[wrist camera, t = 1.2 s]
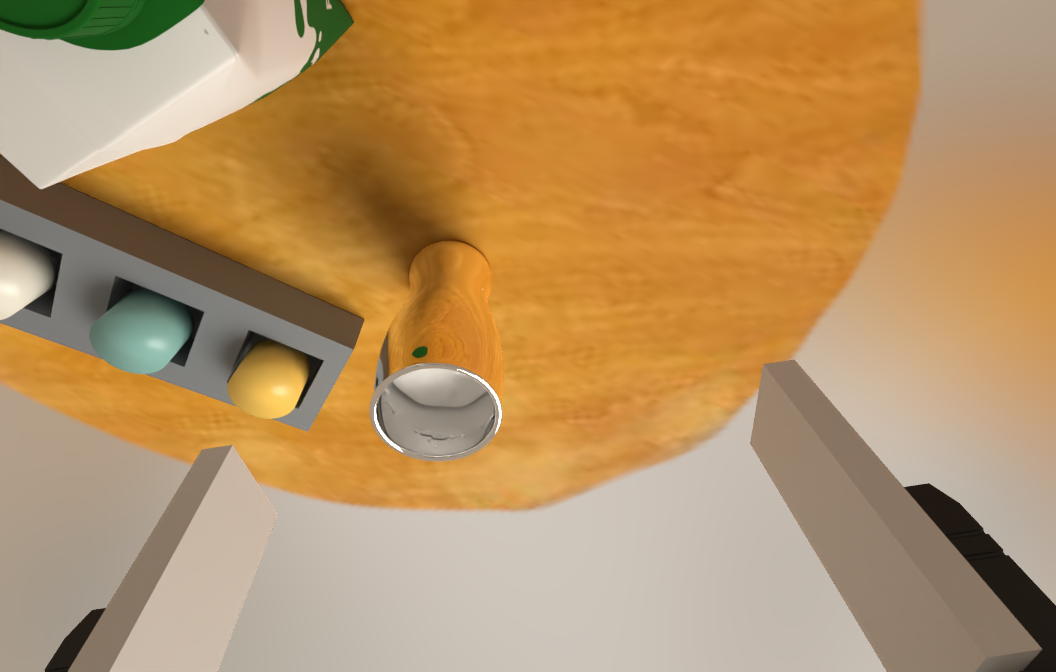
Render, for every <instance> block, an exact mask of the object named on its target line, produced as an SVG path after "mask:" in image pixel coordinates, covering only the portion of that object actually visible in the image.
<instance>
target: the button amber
mask: <svg viewBox="0 0 1056 672" xmlns="http://www.w3.org/2000/svg"><path fill="white" fill-rule="evenodd" d="M309 375H310V363H309V360H308V358H307V357H306V355H305V354H304V353H303V352H302V351H299V350H297V349H294V348H292V347H290V346H287V345H285V344H282V343H280V342H277V341H275V340H265V341H261V342H258V343H256V344H255V345H253V346H252V347H251V348H250V349H249V351H248V352H247V354H246V355H245V357H244V358H243V360H242V361H241V363H240V364H239V366H238V368H237V369H236V371H235V372H234V374H233V375H232V377H231V378H230V380H229V382H228V386H227V391H228V395H229V397H230V399H231V401H232V402H233V403H234V404H235V405H236V406H237V407H238V408H239V409H240V410H242V411H244V412H245V413H247V414H249V415H252V416H255V417H259V418H266V419H273V418H279V417H283V416H285V415H287V414H289V413H290V412H291V411H292V410H293V409H294V408H295V406H296V404H297V402H298V399H299V397H300V395H301V393H302V390H303V388H304V386H305V384H306V381H307V379H308V377H309Z"/></svg>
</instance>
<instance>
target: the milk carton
mask: <svg viewBox="0 0 1056 672" xmlns="http://www.w3.org/2000/svg"><path fill="white" fill-rule="evenodd" d="M353 23H354V22H353V20H352V18H351V17H350V15H349V13H348V12H347V10H346V8H345V7H344V5H343V3H342V2H341V0H0V153H1V154H2V155H3V156H4V157H5V158H6V159H7V160H8V161H9V162H10V163H11V164H13V165H14V166H15V167H16V168H17V169H18V170H19V171H20V172H21V173H22V174H24V175H25V176H26V177H27V178H28V179H29V180H30V181H31V182H32V183H33V184H35V185H36V186H37V187H38V188H39V189H43V188H46V187H49V186H51V185H53V184H56V183H58V182H61V181H63V180H66V179H68V178H70V177H73V176H75V175H78V174H80V173H83V172H85V171H88V170H91V169H93V168H96V167H98V166H101V165H104V164H106V163H109V162H112V161H114V160H117V159H120V158H122V157H125V156H127V155H130V154H133V153H135V152H138V151H141V150H143V149H149V148H154V147H159V146H163V145H166V144H170V143H172V142H175V141H177V140H178V139H180V138H181V137H183V136H185V135H186V134H188V133H190V132H192V131H195V130H197V129H199V128H202V127H204V126H206V125H208V124H210V123H212V122H214V121H216V120H219V119H221V118H223V117H225V116H227V115H229V114H231V113H233V112H235V111H237V110H239V109H241V108H243V107H246V106H248V105H250V104H252V103H254V102H256V101H258V100H260V99H262V98H264V97H266V96H267V95H269V94H271V93H272V92H274V91H275V90H277V89H278V88H280V87H281V86H283V85H284V84H286V83H287V82H289V81H290V80H292V79H293V78H295V77H297V76H298V75H299V74H301V73H302V72H303V71H305V70H306V69H307V68H309V67H310V66H311V65H313V64H314V63H315V62H317V61H318V60H319V59H320V58H321V56H322V55H323V54H324V53H325V52H326V51H327V50H328V49H329V48H330V47H331V46H332V45H333V44H334V43H335V42H336V41H337V40H338V39H339V38H340V37H341V36H342V35H343V34H344V32H345V31H346V30H347V29H348V28H349V27H350V26H351V25H352V24H353Z"/></svg>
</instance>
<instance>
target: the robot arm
mask: <svg viewBox="0 0 1056 672" xmlns="http://www.w3.org/2000/svg"><path fill="white" fill-rule="evenodd" d="M750 444H751V446H752V447H753V449H754V450H755V452H756V454H757V456H758V457H759V459H760V461H761V462H762V464H763V465H764V467H765V469H766V471H767V472H768V474H769V476H770V477H771V479H772V481H773V482H774V484H775V486H776V487H777V489H778V490H779V492H780V494H781V496H782V497H783V499H784V500H785V502H786V504H787V506H788V507H789V509H790V511H791V512H792V514H793V516H794V517H795V519H796V521H797V522H798V524H799V526H800V527H801V529H802V531H803V532H804V534H805V536H806V537H807V539H808V541H809V542H810V544H811V546H812V547H813V549H814V550H815V552H816V554H817V556H818V557H819V559H820V560H821V562H822V564H823V566H824V567H825V569H826V571H827V572H828V574H829V575H830V577H831V579H832V581H833V582H834V584H835V586H836V587H837V589H838V590H839V592H840V594H841V596H842V597H843V599H844V601H845V602H846V604H847V606H848V607H849V609H850V611H851V612H852V614H853V616H854V617H855V619H856V621H857V622H858V624H859V626H860V627H861V629H862V631H863V632H864V634H865V636H866V637H867V639H868V641H869V642H870V644H871V646H872V647H873V649H874V651H875V652H876V654H877V656H878V657H879V659H880V661H881V662H882V664H883V666H884V667H885V669H886V671H887V672H1056V605H1055V604H1054V603H1053V602H1052V601H1051V600H1050V599H1049V598H1048V597H1047V596H1046V595H1045V594H1044V593H1043V592H1042V591H1041V590H1040V588H1039V587H1038V586H1037V585H1036V584H1035V583H1034V582H1033V581H1032V580H1031V579H1030V578H1029V577H1028V576H1027V575H1026V574H1025V573H1024V572H1023V570H1022V569H1021V568H1020V567H1019V566H1018V565H1017V564H1016V563H1015V562H1014V561H1013V560H1012V559H1011V558H1010V557H1009V556H1008V555H1007V556H1006V555H1005V554H1004V553H1003V549H1002V548H1001V547H1000V546H999V545H998V544H997V543H996V542H995V541H994V540H993V538H992V537H991V536H990V535H989V534H985V533H984V531H983V528H982V527H981V526H980V525H979V523H978V522H977V521H976V520H975V519H974V518H973V517H972V516H971V515H970V514H969V513H968V512H967V511H966V510H965V509H964V508H963V506H962V505H961V504H960V503H958V502H957V501H955V500H954V499H952V498H951V497H949V496H947V495H946V494H944V493H943V492H941V491H940V490H938V489H937V488H935V487H934V486H932V485H931V484H929V483H928V484H922V485H915V486H908V487H903V486H902V485H901V483H900V482H899V481H898V480H897V479H896V478H895V476H894V475H893V474H892V473H891V472H890V471H889V470H888V468H887V467H886V466H885V465H884V464H883V463H882V461H881V460H880V459H879V458H878V457H877V456H876V455H875V453H874V452H873V451H872V450H871V448H870V447H869V446H868V445H867V444H866V443H865V442H864V440H863V439H862V438H861V437H860V436H859V435H858V433H857V432H856V431H855V430H854V429H853V427H852V426H851V425H850V424H849V423H848V422H847V420H846V419H845V418H844V417H843V416H842V415H841V413H840V412H839V411H838V410H837V409H836V408H835V407H834V405H833V404H832V403H831V402H830V401H829V400H828V398H827V397H826V396H825V395H824V394H823V392H822V391H821V390H820V389H819V388H818V387H817V385H816V384H815V383H814V382H813V381H812V380H811V379H810V377H809V376H808V375H807V374H806V373H805V371H803V369H802V368H801V367H800V366H799V365H798V363H797V362H796V361H795V360H789V361H782V362H776V363H769V364H763V369H762V375H761V381H760V387H759V393H758V400H757V406H756V412H755V418H754V424H753V430H752V436H751V443H750ZM277 516H278V514H277V513H276V511H275V510H274V508H273V507H272V505H271V504H270V502H269V500H268V499H267V497H266V496H265V494H264V493H263V491H262V490H261V488H260V486H259V485H258V483H257V482H256V480H255V479H254V477H253V476H252V474H251V473H250V471H249V469H248V468H247V466H246V465H245V463H244V462H243V460H242V459H241V457H240V456H239V454H238V453H237V451H236V449H235V448H234V446H233V445H230V446H223V447H217V448H210V449H204V450H202V451H201V452H200V454H199V456H198V457H197V459H196V460H195V462H194V464H193V465H192V467H191V469H190V471H189V472H188V474H187V475H186V477H185V479H184V480H183V482H182V484H181V485H180V487H179V489H178V490H177V492H176V494H175V495H174V497H173V499H172V500H171V502H170V503H169V505H168V507H167V508H166V510H165V512H164V513H163V515H162V517H161V518H160V520H159V522H158V523H157V525H156V527H155V528H154V530H153V532H152V533H151V535H150V536H149V538H148V540H147V542H146V543H145V545H144V546H143V548H142V550H141V551H140V553H139V555H138V556H137V558H136V560H135V561H134V563H133V565H132V566H131V568H130V570H129V571H128V573H127V574H126V576H125V578H124V579H123V581H122V583H121V585H120V586H119V588H118V589H117V591H116V593H115V594H114V596H113V598H112V599H111V601H110V603H109V604H108V606H107V607H106V608H103V609H96V610H92V611H91V612H90V613H89V614H88V615H87V616H86V617H85V618H84V619H83V620H82V621H81V622H80V623H79V624H78V625H77V626H76V627H75V629H73V630H72V632H71V633H70V634H69V635H68V636H67V637H66V638H65V639H64V640H63V642H62V644H61V645H60V647H59V648H58V650H57V652H56V653H55V654H54V656H53V658H52V659H51V661H50V662H49V664H48V665H47V667H46V669H45V672H218V669H219V667H220V664H221V662H222V659H223V656H224V654H225V651H226V649H227V646H228V644H229V641H230V638H231V636H232V633H233V630H234V628H235V625H236V623H237V620H238V618H239V615H240V612H241V610H242V607H243V604H244V602H245V599H246V597H247V594H248V591H249V589H250V586H251V583H252V581H253V578H254V576H255V573H256V571H257V568H258V566H259V563H260V560H261V558H262V555H263V552H264V550H265V547H266V545H267V542H268V540H269V537H270V534H271V532H272V529H273V527H274V524H275V521H276V519H277Z"/></svg>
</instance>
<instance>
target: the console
mask: <svg viewBox="0 0 1056 672" xmlns="http://www.w3.org/2000/svg"><path fill="white" fill-rule="evenodd" d="M0 229H3V230H5V231H7V232H10V233H12V234H15V235H17V236H20V237H22V238H25V239H27V240H30V241H32V242H34V243H37V244H39V245H41V246H42V247H43V248H44V249H45V250H46V251H47V252H48V253H49V254H50V256H51V257H52V259H53V260H54V262H55V264H56V267H57V270H58V279H57V282H56V284H55V285H54V286H53V287H52V288H51V289H50V290H48V291H47V292H45V293H44V294H42V295H41V296H39V297H38V298H37V299H35V300H34V301H32V302H31V303H29V304H28V305H26V306H25V307H23V308H22V309H21V310H19V311H18V312H16V313H15V314H13V315H12V316H10V317H8V318H6V319H3V320H0V323H2V324H5V325H7V326H10V327H13V328H16V329H19V330H22V331H24V332H27V333H30V334H33V335H36V336H39V337H41V338H44V339H47V340H50V341H53V342H56V343H58V344H61V345H64V346H67V347H70V348H73V349H75V350H78V351H81V352H84V353H87V354H90V355H92V356H95V357H98V358H101V357H100V356H99V355H98V354H97V352H96V351H95V350H94V348H93V346H92V344H91V342H90V338H89V332H90V329H91V326H92V325H93V324H94V323H95V322H96V321H97V320H98V319H99V318H100V317H101V316H103V315H104V314H105V313H106V312H107V311H108V310H110V309H111V308H112V307H113V306H114V305H116V304H117V303H118V302H119V301H120V300H121V299H123V298H124V297H125V296H126V295H127V294H129V293H130V292H132V291H135V290H138V289H150V290H152V291H155V292H157V293H160V294H162V295H164V296H167V297H169V298H172V299H174V300H177V301H179V302H182V303H183V304H184V305H185V306H186V307H187V309H188V310H189V311H190V313H191V315H192V317H193V320H194V331H193V333H192V335H191V336H190V338H189V339H188V340H187V341H186V342H185V343H184V345H183V346H182V347H181V348H180V349H179V351H178V352H177V353H176V354H175V355H174V356H173V358H172V359H171V360H170V361H169V362H168V364H167V365H166V366H165V367H164V368H162V369H161V370H159V371H157V372H154V373H149V374H146V375H149V376H152V377H155V378H158V379H160V380H163V381H166V382H169V383H172V384H175V385H177V386H180V387H183V388H186V389H189V390H191V391H194V392H197V393H200V394H203V395H206V396H208V397H211V398H214V399H217V400H220V401H223V402H225V403H228V404H231V405H234V406H236V405H235V404H234V403H233V402H232V401H231V399H230V397H229V395H228V391H227V386H228V382H229V380H230V378H231V377H232V375H233V374H234V372H235V371H236V369H237V368H238V366H239V364H240V363H241V361H242V360H243V358H244V357H245V355H246V354H247V352H248V351H249V349H250V348H251V347H252V346H253V345H255V344H256V343H258V342H261V341H265V340H275V341H277V342H280V343H282V344H285V345H287V346H290V347H292V348H294V349H297V350H299V351H302V352H303V353H304V354H305V355H306V357H307V358H308V360H309V363H310V375H309V377H308V379H307V381H306V384H305V386H304V388H303V390H302V393H301V395H300V397H299V399H298V402H297V404H296V406H295V408H294V409H293V410H292V411H291V412H290V413H289V414H287V415H285V416H283V417H279V418H273V419H274V420H276V421H279V422H282V423H285V424H288V425H291V426H293V427H296V428H299V429H302V430H305V431H309V429H310V427H311V425H312V424H313V422H314V420H315V418H316V416H317V415H318V413H319V411H320V409H321V407H322V406H323V404H324V402H325V400H326V398H327V397H328V395H329V393H330V391H331V390H332V388H333V386H334V384H335V382H336V381H337V379H338V377H339V375H340V373H341V372H342V370H343V368H344V366H345V364H346V363H347V361H348V359H349V357H350V355H351V354H352V352H353V350H354V347H355V345H356V342H357V339H358V336H359V333H360V330H361V328H362V325H363V322H364V319H362V318H360V317H357V316H355V315H353V314H351V313H349V312H346V311H344V310H342V309H340V308H337V307H335V306H333V305H331V304H328V303H326V302H324V301H322V300H320V299H317V298H315V297H313V296H311V295H308V294H306V293H304V292H302V291H300V290H297V289H295V288H293V287H291V286H288V285H286V284H284V283H282V282H280V281H277V280H275V279H273V278H271V277H268V276H266V275H264V274H262V273H260V272H257V271H255V270H253V269H251V268H248V267H246V266H244V265H242V264H239V263H237V262H235V261H233V260H231V259H228V258H226V257H224V256H222V255H219V254H217V253H215V252H213V251H211V250H208V249H206V248H204V247H202V246H199V245H197V244H195V243H193V242H191V241H188V240H186V239H184V238H182V237H179V236H177V235H175V234H173V233H171V232H168V231H166V230H164V229H162V228H159V227H157V226H155V225H153V224H150V223H148V222H146V221H144V220H142V219H139V218H137V217H135V216H133V215H130V214H128V213H126V212H124V211H122V210H119V209H117V208H115V207H113V206H110V205H108V204H106V203H104V202H102V201H99V200H97V199H95V198H93V197H90V196H88V195H86V194H84V193H82V192H79V191H77V190H75V189H73V188H70V187H68V186H66V185H64V184H61V183H59V182H58V183H56V184H53V185H51V186H49V187H46V188H43V189H39V188H38V187H37V186H36V185H35V184H33V183H32V182H31V181H30V180H29V179H28V178H27V177H26V176H25V175H24V174H22V173H21V172H20V171H19V170H18V169H17V168H16V167H15V166H14V165H13V164H11V163H10V162H9V161H8V160H7V159H6V158H4V157H1V156H0ZM101 359H103V358H101Z"/></svg>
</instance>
